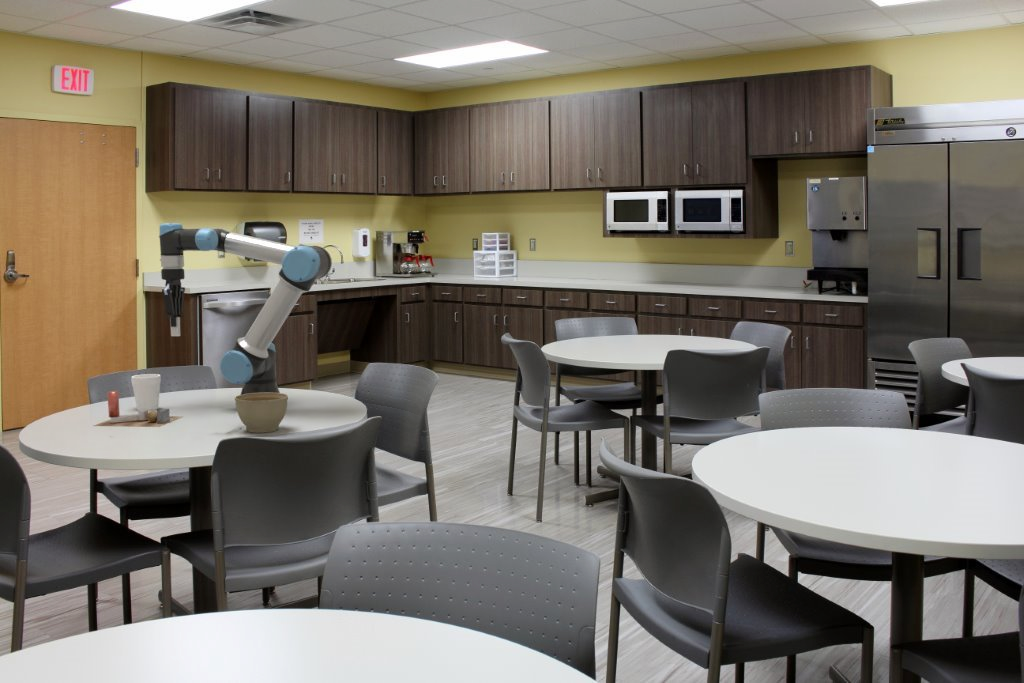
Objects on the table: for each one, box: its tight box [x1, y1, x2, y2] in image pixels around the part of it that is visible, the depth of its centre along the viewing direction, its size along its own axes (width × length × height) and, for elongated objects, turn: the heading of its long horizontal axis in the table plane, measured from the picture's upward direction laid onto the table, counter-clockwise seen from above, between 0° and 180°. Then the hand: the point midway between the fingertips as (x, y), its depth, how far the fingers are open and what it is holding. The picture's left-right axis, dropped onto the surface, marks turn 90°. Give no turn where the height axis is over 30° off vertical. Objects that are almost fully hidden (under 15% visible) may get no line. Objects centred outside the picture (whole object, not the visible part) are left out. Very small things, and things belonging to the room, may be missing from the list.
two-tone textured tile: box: [156, 408, 171, 424], centre depth 303 cm, size 2×4×4 cm, turn 174°
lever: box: [107, 390, 157, 422], centre depth 306 cm, size 18×5×10 cm, turn 120°
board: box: [93, 407, 183, 428], centre depth 306 cm, size 22×17×5 cm
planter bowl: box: [234, 392, 289, 434], centre depth 297 cm, size 16×16×11 cm
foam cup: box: [130, 373, 162, 412], centre depth 328 cm, size 10×9×13 cm
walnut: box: [147, 410, 157, 422], centre depth 304 cm, size 4×4×4 cm
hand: (175, 335), depth 329 cm, fingers closed
